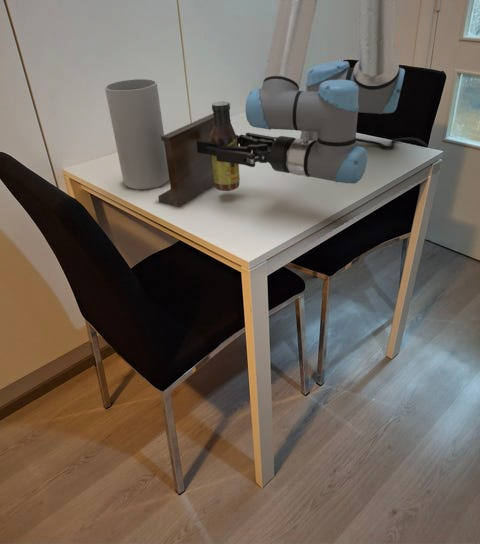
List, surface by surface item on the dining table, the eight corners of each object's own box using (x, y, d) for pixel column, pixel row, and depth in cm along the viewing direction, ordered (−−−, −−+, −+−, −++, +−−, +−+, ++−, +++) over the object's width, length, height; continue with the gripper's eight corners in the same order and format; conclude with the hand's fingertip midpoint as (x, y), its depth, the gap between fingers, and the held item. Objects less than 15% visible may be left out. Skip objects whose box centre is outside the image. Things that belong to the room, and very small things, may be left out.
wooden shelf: (226, 177, 130) (221, 113, 121) (178, 207, 116) (169, 137, 107) (207, 173, 133) (201, 111, 124) (158, 202, 119) (147, 134, 110)
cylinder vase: (162, 191, 125) (146, 90, 111) (116, 189, 127) (96, 91, 114) (175, 172, 135) (163, 78, 122) (133, 172, 138) (116, 79, 124)
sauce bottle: (237, 192, 115) (231, 107, 104) (211, 192, 116) (203, 107, 105) (242, 181, 120) (237, 99, 109) (218, 181, 121) (210, 99, 110)
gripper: (313, 126, 108) (228, 115, 119) (270, 152, 95) (179, 138, 106) (312, 158, 112) (230, 145, 124) (271, 188, 99) (183, 170, 110)
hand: (206, 142), depth 115 cm, fingers closed on sauce bottle, 6 cm apart
